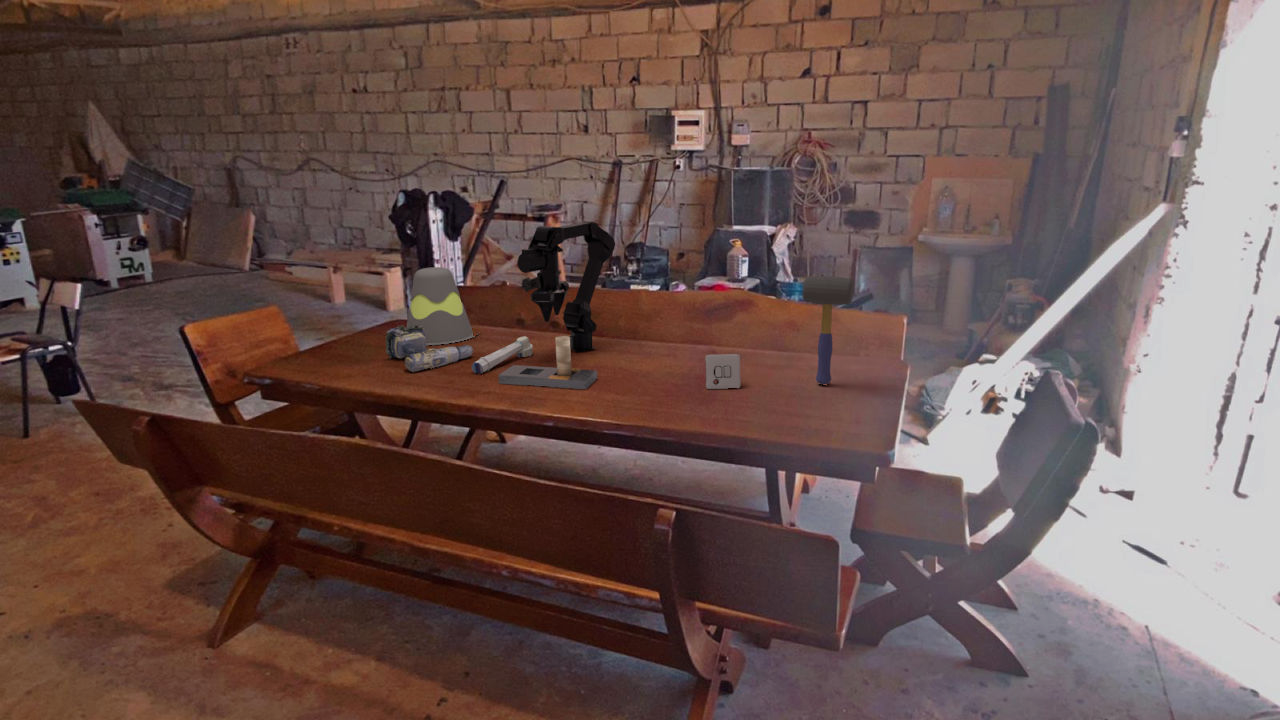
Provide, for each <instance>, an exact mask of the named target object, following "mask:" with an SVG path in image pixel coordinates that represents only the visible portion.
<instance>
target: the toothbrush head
mask: <svg viewBox="0 0 1280 720" xmlns="http://www.w3.org/2000/svg"><path fill="white" fill-rule="evenodd" d="M533 348H534V346H533V344H532V343H530V339H529V337H527V336H526V335H525V336H520V337H518V338H517V339H516V341H515V342H512V343H511V344H509V345H507V346H504V347H502V348H500V349H498V350H496V351H494V352H491V353H490V354H487V355H485V356H483V357H482V356H481V357H479V359H478V360H477V361H474V362H473V363H472V364H471V370H472V372H473V373H474V374H476V373H477V374H478V375H482V374H483V372H484V373H485V372H489V371H490V370H491V369H492V368H494V367H495V366H497V365H499V364H501V363H502V362H503V361H505V360H507V359H508V358H510V357H512V356H514V355H516V357H517V358H520V357H525V358H526V357H528V356H529V357H531V356H532V355H533V353H534V352H533Z"/></svg>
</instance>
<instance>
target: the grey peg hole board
mask: <svg viewBox="0 0 1280 720" xmlns="http://www.w3.org/2000/svg"><path fill="white" fill-rule="evenodd" d="M571 372H572V376H571V377H570V376H557V367H550V366H549V367H548V366H533V365H516V364H513V365H510V367H508V368H507V369H505V370H504V371H502V372H501V373H499V374H498V384H500V385H517V386H527V385H531V386H530V387H541V386H546V387H545V388H555V387H558V388H557V389H569V388H573V389H572V390H583V389H586V390H587V389H588V388H589V387H591V385H593V384H594V383H595V382H596V379H597V380H598V370H595V369H583V368H582V369H581V368H579V367H578V368H577V367H571ZM532 385H534V386H532ZM547 386H548V387H547Z"/></svg>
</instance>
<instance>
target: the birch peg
mask: <svg viewBox="0 0 1280 720" xmlns="http://www.w3.org/2000/svg"><path fill="white" fill-rule="evenodd" d="M554 338H555V339H554V342H555V357H556V368H557V376H570V377H571V376H572V372H571V368H572V356H571V355H572V354H571V353H572V352H571V349H570V336H568V335H561V336H560V335H559V336H556V337H554Z"/></svg>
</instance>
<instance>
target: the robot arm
mask: <svg viewBox="0 0 1280 720" xmlns="http://www.w3.org/2000/svg"><path fill="white" fill-rule="evenodd" d="M579 237H583V240H584V243H586V245H587V248H586V250H587V255H588V260H587V263H586V266H585V269H584V272H583V275H582V278H581V281H580V283H579V286H578V289H577V291H576V296H575V298H574V299H573V300H572V301H567V302H566V303H565V308H564V310H563V312H562V314H563V317H562V320H563V322H564V324H565V328H566V331H569V332H570V335H569V337H570V350H572V351H574V352H575V353H582V352H587V351H589V352H590V351H594V350H596V347H594V345H593V334H594V333H595V332H596V330H597V326H598V325H597V324H596V323H595V321H594V319H592V309H591V305H590V304H591V301H592V299H593V295H594V293H595V289H596V287H597V284H598V280H599V277H600V274H601V271H602V268H603V266H604V264H605V262H606V261H608V259H609V258H611V257H612V255H613V252H614V250H615V247H616V242H615V239H614V238H613V236H611V235H610V233H609V232H607V231H606V230H604V229H603V228H601V227H600V226H599V225H598V223H596V222H595V221H588V220H587V221H586V220H585V221H581V222H577V223H572V224H567V225H561V226H546V225H545V226H544V225H540V226H539V225H538V226H537V227H535V231H534V234H533V236H532V238H531V240H530V243H529V245H528V248H523V249H521V253H520V254H519V256H518V259H517V261H516V262H517V267H518V269H519V270H520V271H521V272H522V273H524V274H527V273H533V272H536V271H537V273H536V276H535V277H533V278H529V277H526V278H523V279H521V284H520V285H521V289H523V290H524V292H525V293H528V292H530V291H531V290H532V292H531V293H530V301H531V302H533V303H534V304H536V305H537V306H539V309H540V311H541V315H542V317H543V319H544V322H545V323H548V322H549V321H550V320H551V319H550V318H551V316H552V310H553V312H554V315H555V316H558V315H559V314H560V312H561V309H562V306H563V303H564V301H565V299H566V297H567V294H568V292H569V290H570V283H569V282H567V280H560V274H562V270H560V269H559V253H562V252H564V249H563V248H562V247H561V246H559V245H561V244H564V241H566V240H569V239H575V238H579ZM538 271H539V272H538Z"/></svg>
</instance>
